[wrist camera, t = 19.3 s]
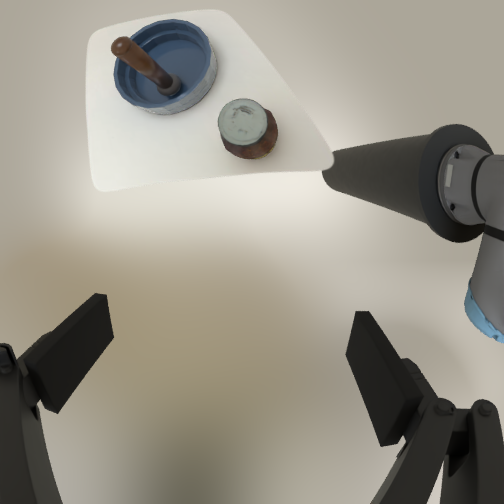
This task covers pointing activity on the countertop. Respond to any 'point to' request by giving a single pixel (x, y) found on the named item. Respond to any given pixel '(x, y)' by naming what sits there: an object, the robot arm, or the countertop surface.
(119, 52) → the wooden pestle
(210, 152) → the countertop surface
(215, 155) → the countertop surface
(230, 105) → the sauce bottle
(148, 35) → the bowl
